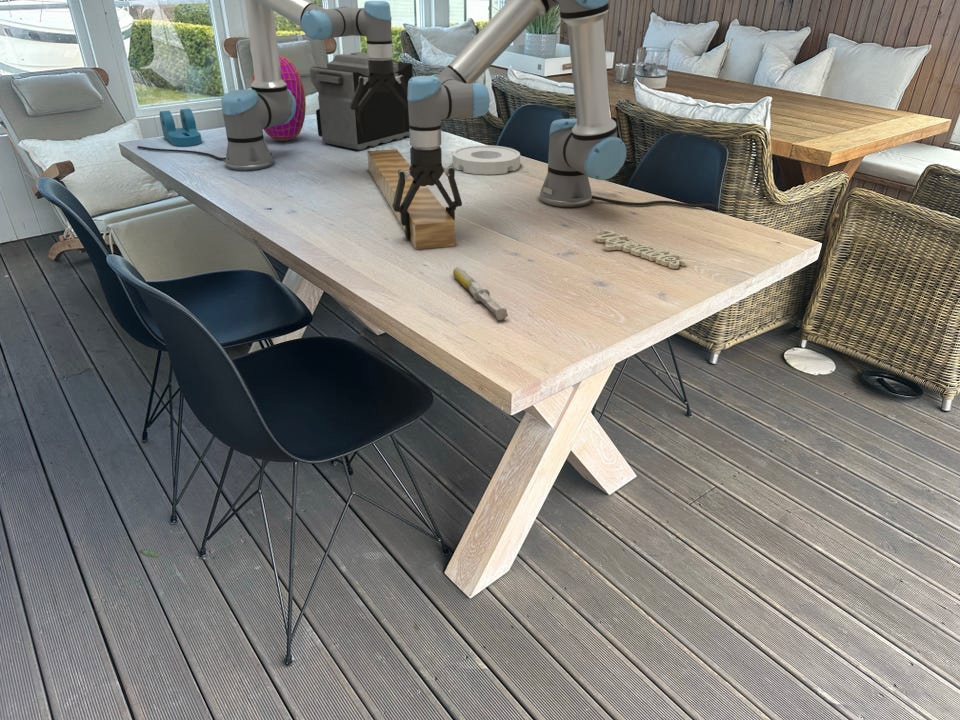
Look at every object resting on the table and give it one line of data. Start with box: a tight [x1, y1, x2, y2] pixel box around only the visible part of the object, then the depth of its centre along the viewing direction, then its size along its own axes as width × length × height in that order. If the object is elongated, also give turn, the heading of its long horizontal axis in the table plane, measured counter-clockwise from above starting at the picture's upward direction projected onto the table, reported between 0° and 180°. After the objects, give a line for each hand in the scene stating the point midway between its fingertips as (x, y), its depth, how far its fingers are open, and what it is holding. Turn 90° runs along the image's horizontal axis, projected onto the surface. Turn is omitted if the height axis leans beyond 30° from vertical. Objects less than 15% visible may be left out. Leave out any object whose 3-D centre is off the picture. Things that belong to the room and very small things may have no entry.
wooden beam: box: [366, 148, 456, 251], centre depth 198 cm, size 74×10×6 cm, turn 17°
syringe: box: [452, 266, 509, 321], centre depth 145 cm, size 25×4×3 cm, turn 21°
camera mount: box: [159, 108, 203, 147], centre depth 259 cm, size 18×10×10 cm, turn 35°
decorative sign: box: [595, 229, 686, 270], centre depth 168 cm, size 26×1×10 cm
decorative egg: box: [251, 54, 307, 142], centre depth 257 cm, size 19×19×30 cm
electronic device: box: [309, 51, 414, 151], centre depth 260 cm, size 37×22×30 cm, turn 144°
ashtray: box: [451, 144, 521, 176], centre depth 235 cm, size 23×23×4 cm
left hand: (384, 131), depth 217 cm, fingers open, 13 cm apart
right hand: (428, 235), depth 175 cm, fingers closed on wooden beam, 10 cm apart
